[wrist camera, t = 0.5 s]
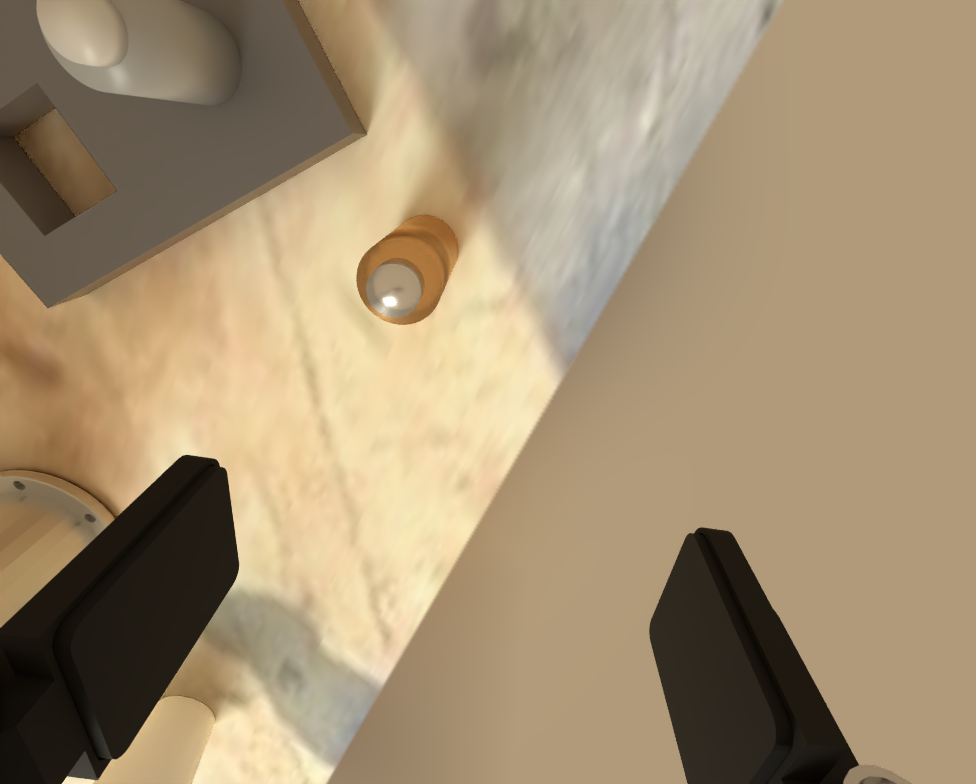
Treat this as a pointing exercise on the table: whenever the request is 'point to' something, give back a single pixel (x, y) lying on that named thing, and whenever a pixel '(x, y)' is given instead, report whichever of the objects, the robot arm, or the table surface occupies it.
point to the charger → (156, 123)
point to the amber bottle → (408, 270)
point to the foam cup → (164, 745)
